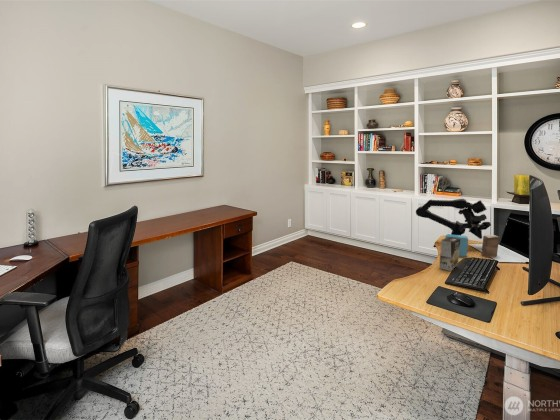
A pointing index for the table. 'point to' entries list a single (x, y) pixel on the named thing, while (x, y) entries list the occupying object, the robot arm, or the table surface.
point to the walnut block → (490, 246)
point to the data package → (461, 244)
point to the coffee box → (449, 253)
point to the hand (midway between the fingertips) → (481, 238)
